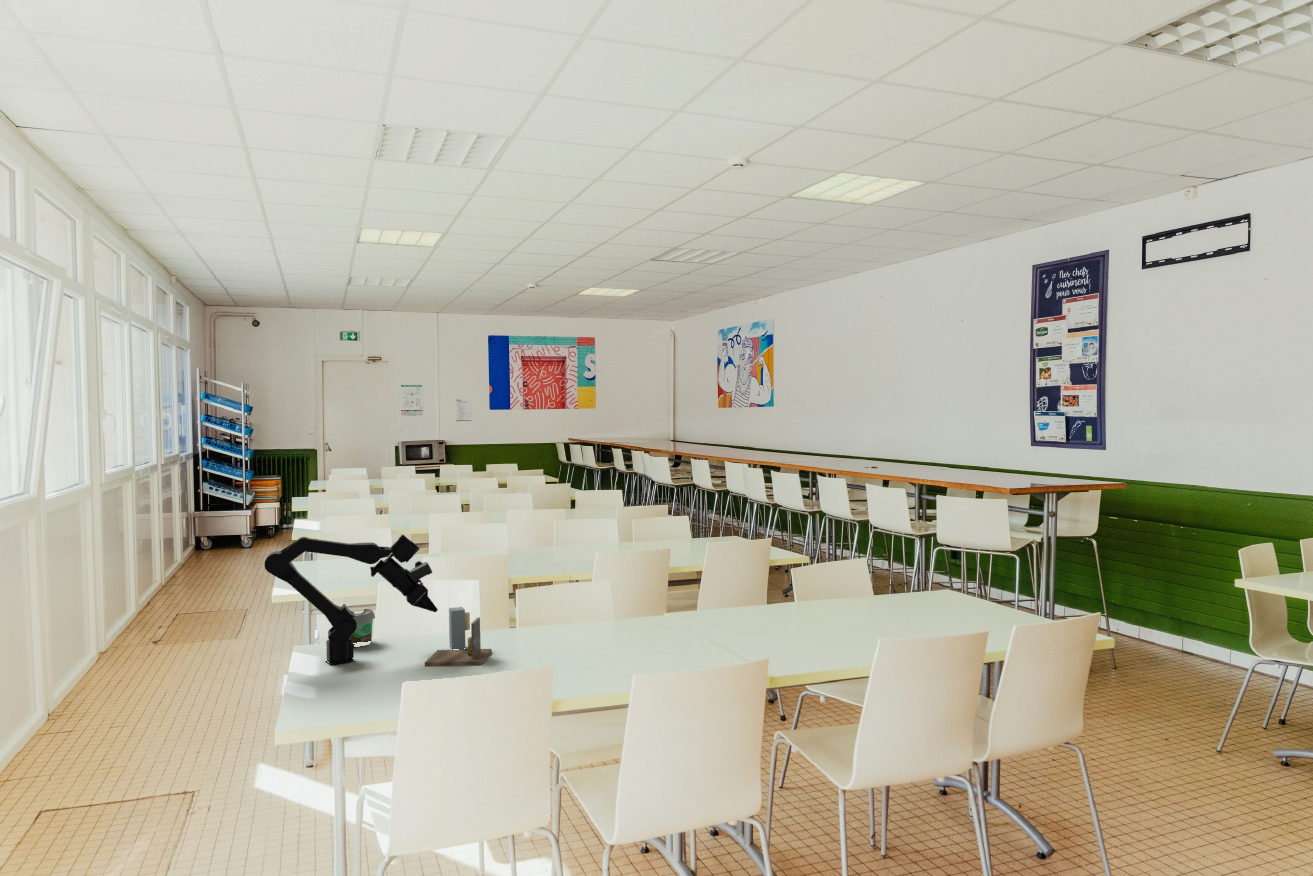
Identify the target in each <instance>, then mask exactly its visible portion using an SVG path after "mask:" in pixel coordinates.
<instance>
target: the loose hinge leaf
mask: <svg viewBox="0 0 1313 876" xmlns="http://www.w3.org/2000/svg"><path fill="white" fill-rule="evenodd" d="M470 619H471V618H470V612H467V611H466V610H465V609H464V607H462V606H457V607H456V606H455V607H448V622H449V623H448V624H449V625H448V627H449V628H448V629H449V631H448V633H449V634H448V635H449V636H448V637H449V648H450V647H451V649H452V650H453V649H464V648H466V631H471V630H470V629H471V625H470V624H471V620H470ZM451 649H450V650H451Z"/></svg>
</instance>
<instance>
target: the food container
mask: <svg viewBox="0 0 1313 876" xmlns="http://www.w3.org/2000/svg"><path fill="white" fill-rule="evenodd" d="M354 614H355V618H356V622H357V628H356V630H355V632H354V633H353V634H351V635H350V637H349V638H351V639H352V643H357V642H368V641H371V642H372V638H373V622H374V621H373V620H374V619H375V618H376V615H375V612H374V610H373V609H370V608H363V612H360V613H354ZM354 645H355V644H354Z"/></svg>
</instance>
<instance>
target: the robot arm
mask: <svg viewBox="0 0 1313 876" xmlns="http://www.w3.org/2000/svg"><path fill="white" fill-rule="evenodd" d="M420 549H421V548H420V547H419V546H418V545H417V544H416V543H415V542H414V541H412V540H411V539H409V538H408V537H407V536H405V534H401V535H399V537H398V539H397V540H396V541H395V542H394V543H393V544H392V545H391V546H379V545H378V544H377V543H375V542H372V541H370V542H355V543H353V542H352V543H347V542H339V541H334V540H333V541H332V540H326V539H325V540H324V539H319V538H318V539H317V538H312V537H311V538H310V537H307V536H301V537H299V538H298V539H296V540H295V541H294V542H292V543H291V544H289V545H287V546H286V547H284V548H282V549H281V550H275V551H272V552H271V553H269V554H268V555H267V557H266V558H265V560H264V568H265V570H266V572H267V573H270V574H271V575H272V576H274V577H276V578H278V579H280V580H281V581H284V582H285V583H287V584H289V585H290V586H291V587H292V588H293V589H294V590H295V591H297V592H298V593H299V594H300V595H301V596H303V598H304V599H306V600H307V601H308V602H309V603H310V604H311V605H312V606H314V607H315V608H316V609H317V610H318V611H319V612H320V613H322V614H323V615H324V616H325V618H326V619H327V620H328V622H329V624H331V626H332V627H331V628H329V629H328V631H327V635H328V636H327V640H326V642H325V644H326V659H327V661H328V662H329V663H330V664H334V665H336V664H335V663H340V664H342V663H341V662H346V663H348V662H347V661H352V662H354V661H355V658H354V656H355V654H354V653H355V650H354V649H355V648H354V644H353V643H352V639H351V638H349V637H350V635H351V634H353V633H354V632H355V630H356V628H357V622H356V618H355V614H356V613H355V611H353V610H351V609H350V608H349V607H348V606H347V605H346V604H345V603H343V604H342V606H339V605H337V604H336V603H334V602H333V601H332V600H330V599H329V598H328V597H327V596H326V595H325V594H324V593H323V592H321V591H320V590H319V589H318V588H317V586H315V585H314V584H312V583H311V582H310V581H309V580H308V579H307V578H306V577H304V576H303V575H302V574H301V573H300V572H299V571H298V569H297V568H296V567H295V564H293V561H294V560H295V559H297V558H298V557H299V556H300V555H302V554H303V553H307V552H308V553H312V554H313V553H314V554H322V555H330V556H339V557H344V558H349V559H351V560H354V561H357V562H361V563H364V564H367V565H373V566H370V567H369V568H370V576H371V577H373V578H374V577H375V576H376V574H379V575H380V576H381V577H382V578H384V579H385V580H386V581H387V582H388V583H389V584H390V585H391V586H392V587H393V588H395V589H396V590H398V592H400V593H401V595H403V596H404V597H405V599H406V602H407V603H409V604H410V605H411V606H413V607H416V608H420V609H424V610H425V611H430V612H433V613H436V612H438V610H439V609H438V608H437V607H436V605H435V604H434V602H433V601H432V599H431V598H430V597H429V589H428V588H427V587H426V586H425V585H424V583H423V582H422V580H421V579H423V578H424V577H426V576H428V575H431V574H433V569H432V568H431V566H430V564H429V563H428V561H425V562H422V561H421V560H418V561H416V562H414V567H413V568H412V569H409V570H408V569H407V568H406V567H405V568H404V567H403V566H402V565H401V564H403V563H408V562H410V560H411V559H412V558H413V557H414V556H415V555H416V554H417V553H418V552H419V551H420ZM383 559H384V560H383ZM395 559H396V560H397V561H398V562H400V564H399V563H398V562H397V561H396V560H395ZM353 660H354V661H353ZM329 663H328V664H329ZM330 664H329V665H330Z"/></svg>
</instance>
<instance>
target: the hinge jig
mask: <svg viewBox="0 0 1313 876" xmlns="http://www.w3.org/2000/svg"><path fill="white" fill-rule="evenodd" d="M470 624H471V625H470V629H471V630H470V631H471V633H470V634H471V636H469V637H467V648H466V649H459V650H451V649H437V650H436V651H435V652H433V654H432V655H431V656H429V658H428V659H427V660H426V661H424V667H438V666H439V667H440V666H441V667H442V666H443V667H444V666H447V667H448V666H450V667H451V666H478V665H479V666H481V665H483V664H484V662H485V661H486V660H487V659H488V657H489V656H490V655H491V654H492V648H481V644H482V643H481V617H476V618H475V619H474V620H473V621H472V622H470Z"/></svg>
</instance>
